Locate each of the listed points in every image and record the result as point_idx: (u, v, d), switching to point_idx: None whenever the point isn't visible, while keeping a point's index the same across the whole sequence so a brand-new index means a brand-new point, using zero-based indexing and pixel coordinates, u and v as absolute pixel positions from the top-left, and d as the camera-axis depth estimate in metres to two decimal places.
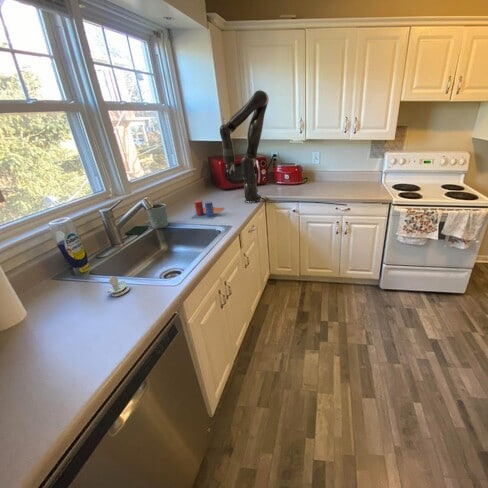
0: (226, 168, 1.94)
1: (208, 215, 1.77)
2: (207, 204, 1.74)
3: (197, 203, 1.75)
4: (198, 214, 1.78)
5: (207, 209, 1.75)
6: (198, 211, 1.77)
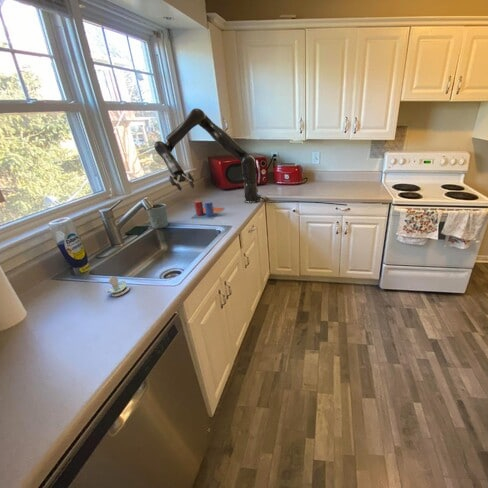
0: (170, 180, 1.76)
1: (208, 215, 1.77)
2: (207, 204, 1.74)
3: (197, 203, 1.75)
4: (198, 214, 1.78)
5: (207, 209, 1.75)
6: (198, 211, 1.77)
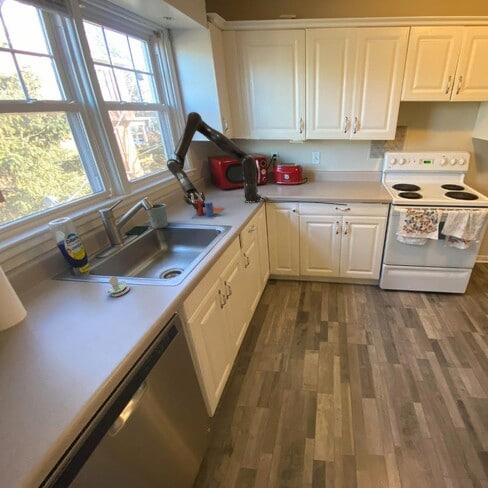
0: (185, 200, 1.74)
1: (208, 215, 1.77)
2: (207, 204, 1.74)
3: (197, 203, 1.75)
4: (198, 214, 1.78)
5: (207, 209, 1.75)
6: (198, 211, 1.77)
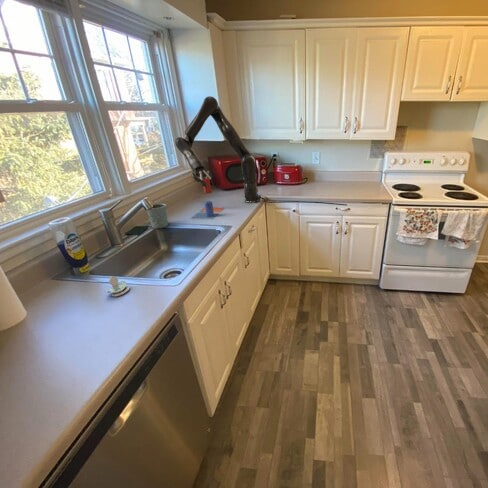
0: (194, 177, 1.77)
1: (208, 215, 1.77)
2: (207, 204, 1.74)
3: (205, 180, 1.79)
4: (206, 191, 1.82)
5: (207, 209, 1.75)
6: (206, 188, 1.81)
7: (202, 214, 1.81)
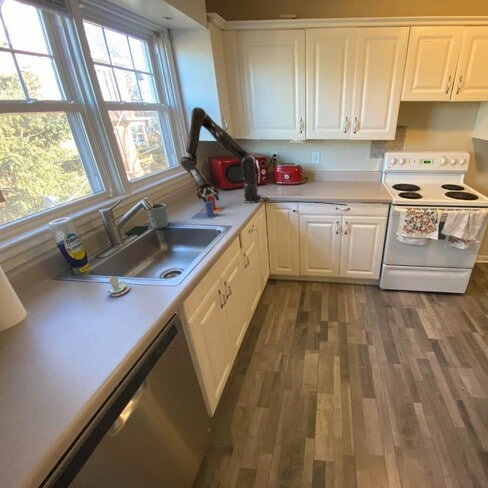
0: (197, 193, 1.84)
1: (208, 215, 1.77)
2: (207, 204, 1.74)
3: (210, 198, 1.86)
4: None
5: (207, 209, 1.75)
6: None
7: (202, 214, 1.81)
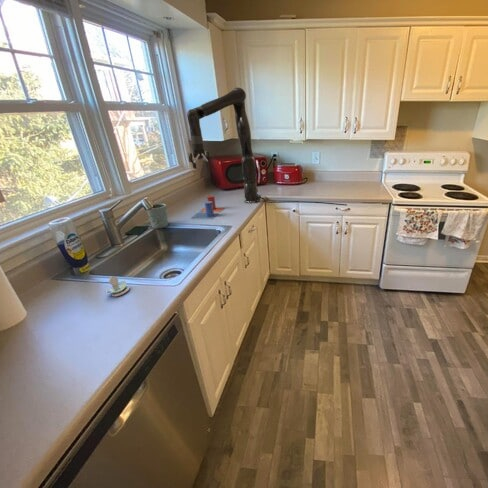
0: (189, 156, 1.83)
1: (208, 215, 1.77)
2: (207, 204, 1.74)
3: (210, 198, 1.86)
4: None
5: (207, 209, 1.75)
6: None
7: (202, 214, 1.81)
